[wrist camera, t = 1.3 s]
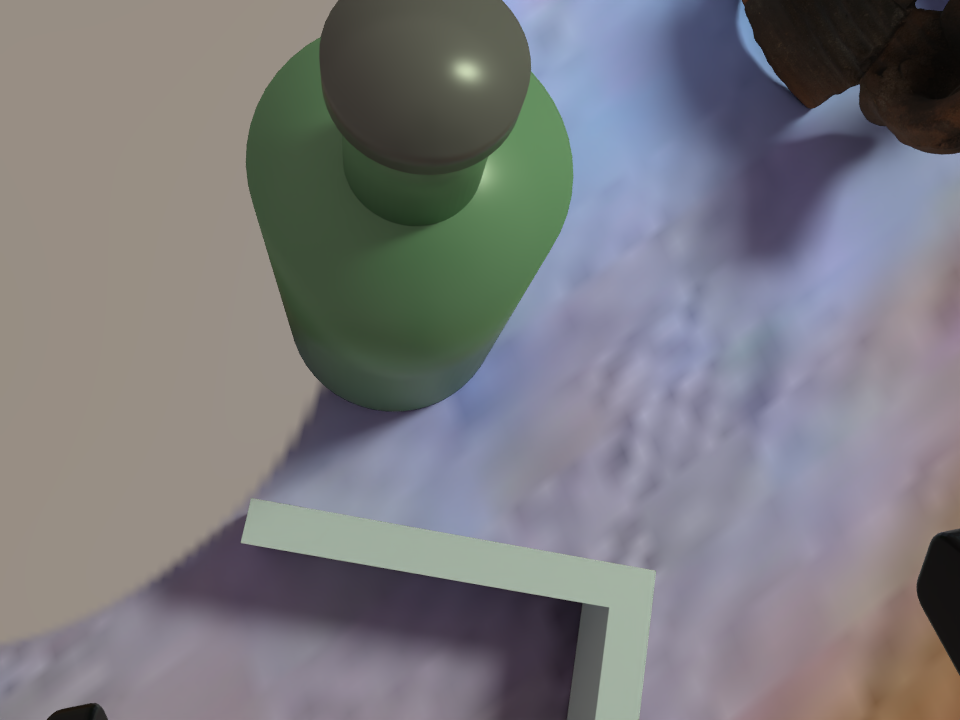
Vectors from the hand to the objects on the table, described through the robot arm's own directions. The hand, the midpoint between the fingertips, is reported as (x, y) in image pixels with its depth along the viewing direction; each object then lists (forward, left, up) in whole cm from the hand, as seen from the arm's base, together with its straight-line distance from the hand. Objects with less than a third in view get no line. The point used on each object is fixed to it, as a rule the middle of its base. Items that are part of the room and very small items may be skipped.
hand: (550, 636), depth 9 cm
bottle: (+7, +3, -13) cm, 15 cm away
